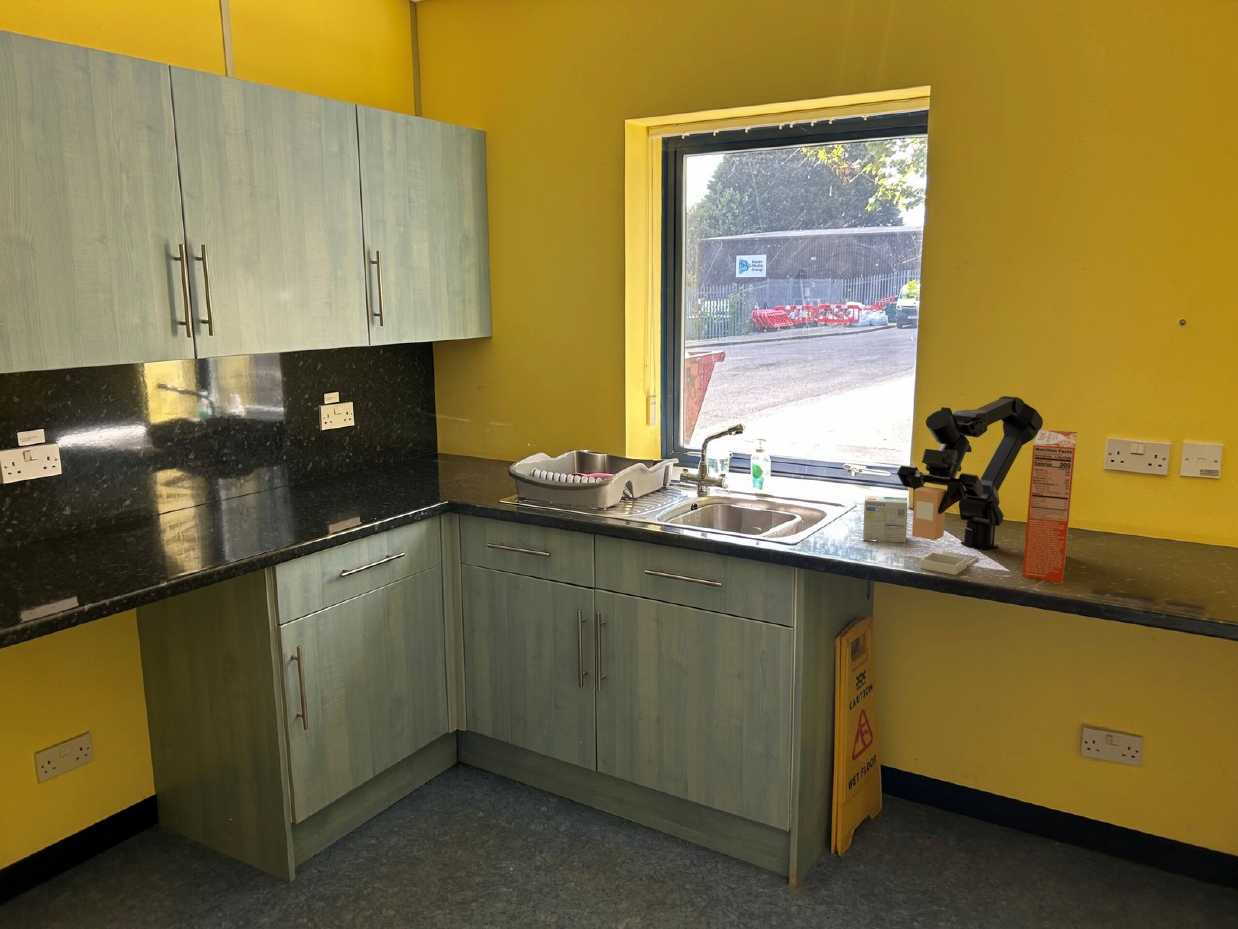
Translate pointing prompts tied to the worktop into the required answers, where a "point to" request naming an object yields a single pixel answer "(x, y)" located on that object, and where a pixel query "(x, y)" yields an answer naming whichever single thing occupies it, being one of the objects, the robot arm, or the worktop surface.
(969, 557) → the case lid
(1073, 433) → the orange cereal box
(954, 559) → the case
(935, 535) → the block
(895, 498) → the light bulb box
